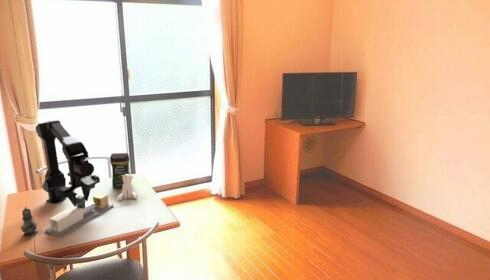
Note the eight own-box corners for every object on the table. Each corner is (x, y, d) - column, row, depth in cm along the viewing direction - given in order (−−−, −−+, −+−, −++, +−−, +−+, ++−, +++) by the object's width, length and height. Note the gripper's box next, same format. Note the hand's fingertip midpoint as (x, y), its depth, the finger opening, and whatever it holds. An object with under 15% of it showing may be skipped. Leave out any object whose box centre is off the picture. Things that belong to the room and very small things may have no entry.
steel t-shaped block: (57, 224, 146) (55, 207, 143) (90, 207, 161) (88, 191, 158) (62, 226, 144) (60, 208, 142) (95, 208, 159) (93, 192, 157)
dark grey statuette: (26, 230, 145) (21, 204, 142) (41, 229, 146) (36, 203, 142) (19, 237, 140) (13, 210, 136) (34, 237, 140) (29, 210, 137)
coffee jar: (111, 189, 185) (107, 156, 179) (114, 183, 192) (111, 151, 187) (130, 188, 186) (127, 155, 181) (132, 182, 193) (129, 150, 188)
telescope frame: (44, 232, 144) (42, 219, 142) (99, 203, 169) (97, 191, 168) (60, 237, 140) (58, 223, 139) (113, 206, 166) (112, 195, 164)
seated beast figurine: (117, 201, 171) (114, 178, 168) (119, 193, 180) (116, 172, 176) (137, 199, 173) (135, 177, 170) (138, 192, 182) (136, 170, 178)
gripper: (71, 181, 138) (76, 216, 142) (107, 166, 154) (110, 198, 159) (52, 176, 142) (57, 211, 147) (88, 162, 159) (92, 193, 163)
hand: (81, 203), depth 154 cm, fingers open, 6 cm apart
